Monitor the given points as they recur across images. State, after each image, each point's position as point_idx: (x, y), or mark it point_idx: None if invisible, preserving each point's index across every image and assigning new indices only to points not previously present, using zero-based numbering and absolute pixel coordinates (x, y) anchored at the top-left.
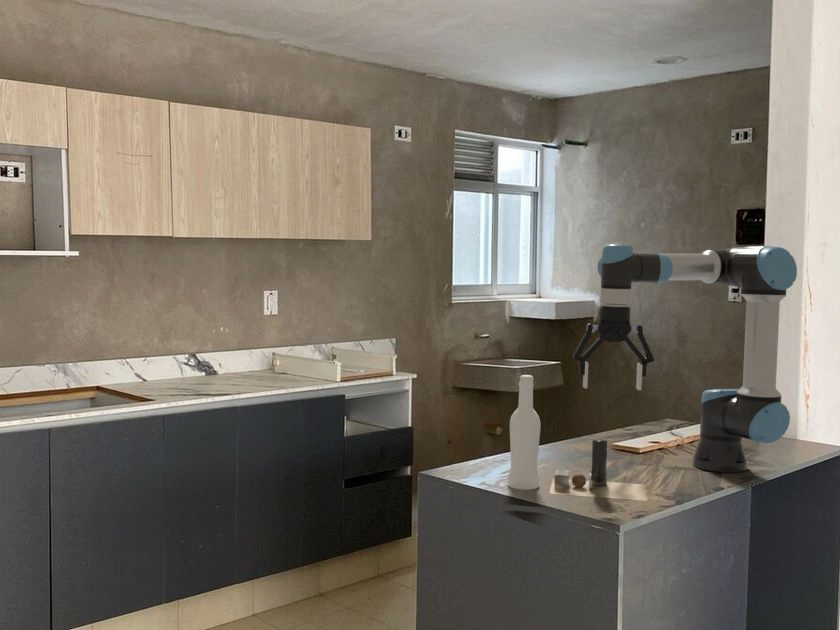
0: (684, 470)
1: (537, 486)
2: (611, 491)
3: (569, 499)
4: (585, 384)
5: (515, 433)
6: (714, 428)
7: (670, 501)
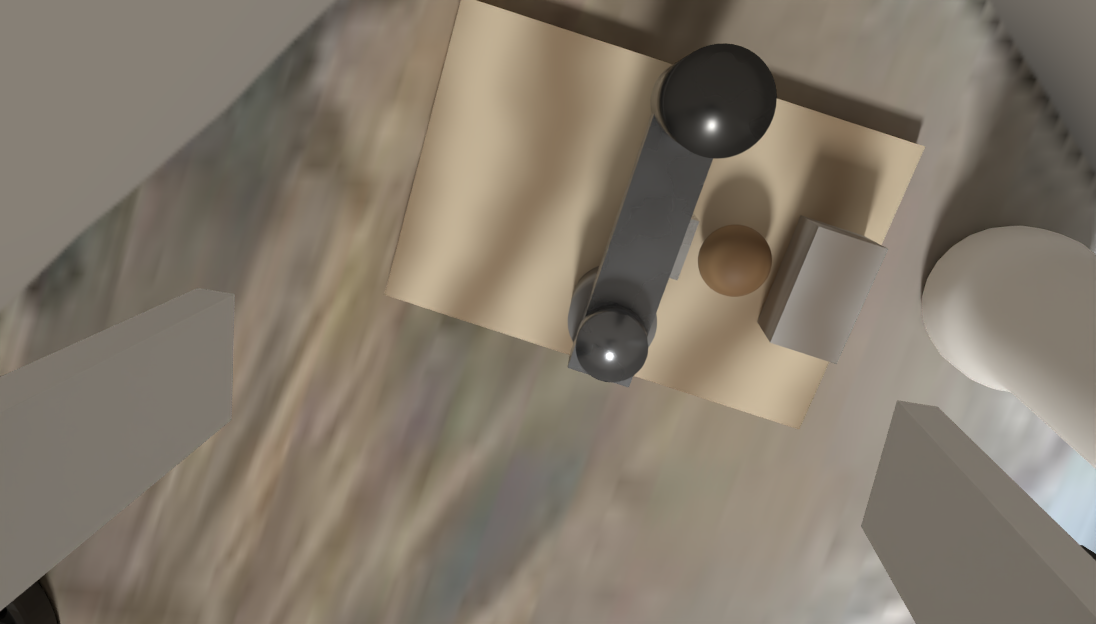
0: (120, 575)
1: (950, 255)
2: (588, 175)
3: None
4: (946, 426)
5: None
6: None
7: (333, 74)
